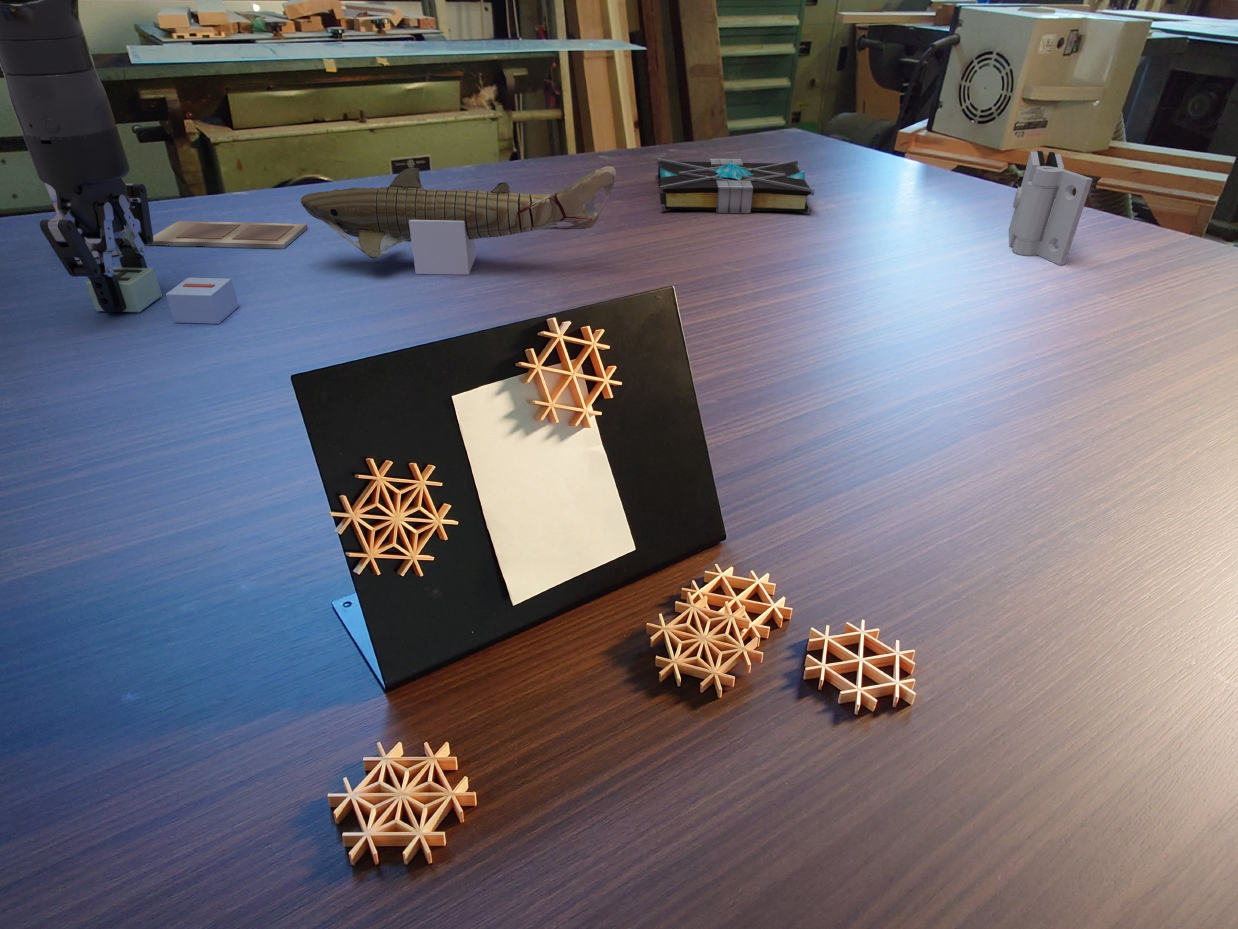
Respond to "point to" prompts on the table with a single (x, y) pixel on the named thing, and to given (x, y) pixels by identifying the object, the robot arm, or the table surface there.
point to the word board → (229, 234)
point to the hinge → (1047, 208)
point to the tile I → (202, 300)
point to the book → (732, 186)
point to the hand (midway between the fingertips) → (128, 300)
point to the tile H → (133, 288)
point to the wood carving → (451, 216)
